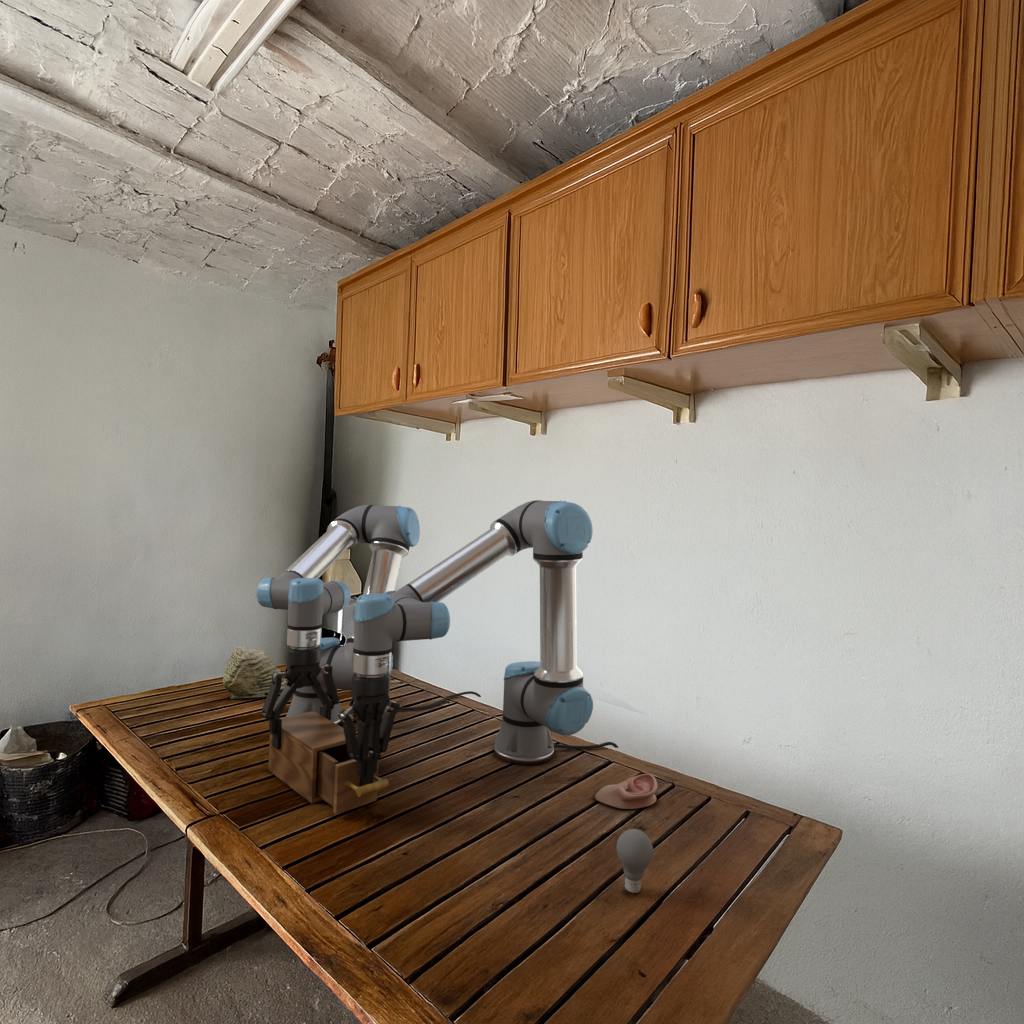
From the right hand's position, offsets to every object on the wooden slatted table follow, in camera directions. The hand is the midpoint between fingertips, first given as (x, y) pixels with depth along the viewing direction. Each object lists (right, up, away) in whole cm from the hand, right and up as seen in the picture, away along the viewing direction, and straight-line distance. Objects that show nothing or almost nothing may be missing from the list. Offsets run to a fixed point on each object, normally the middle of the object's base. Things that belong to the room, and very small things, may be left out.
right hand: (366, 790), depth 126 cm
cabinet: (-16, -4, +16) cm, 23 cm away
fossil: (-52, -2, +72) cm, 89 cm away
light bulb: (+49, -8, -20) cm, 54 cm away
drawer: (-7, -4, +7) cm, 11 cm away
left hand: (-20, +3, +20) cm, 28 cm away
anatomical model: (+54, -8, +13) cm, 56 cm away
